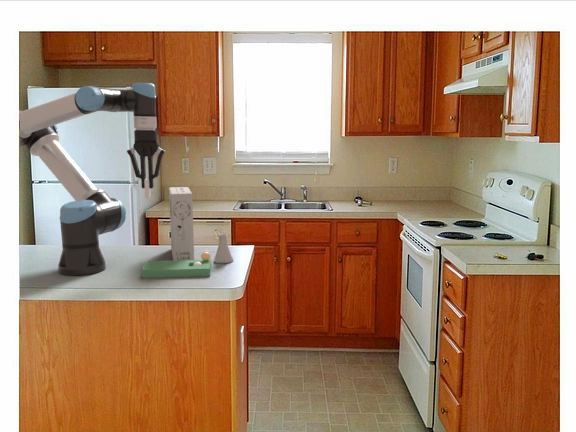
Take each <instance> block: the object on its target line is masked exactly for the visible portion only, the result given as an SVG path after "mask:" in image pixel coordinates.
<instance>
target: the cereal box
mask: <svg viewBox="0 0 576 432" xmlns="http://www.w3.org/2000/svg"><path fill="white" fill-rule="evenodd" d="M168 193H169V195H168V197H169V219H170V220H169V221H170V223H169V224H170V240H171V241H170V243H171V244H170V245H171V246H170V247H171V249H170V250H171V254H172V261H176V260H195V244H194V242H195V240H194V239H195V238H194V212H193V211H194V209H193V207H194V206H193V192H192V191H191V190H190V187H188V186H180V187H179V186H175V187H173V186H171V187H169V188H168Z"/></svg>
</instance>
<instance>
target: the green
mask: <svg viewBox="0 0 576 432" xmlns="http://www.w3.org/2000/svg"><path fill="white" fill-rule="evenodd" d="M195 262H200V263H202V266H193V264H194V263H195ZM212 264H213V263H212V259H209V260H208V261H204V260H202V259H194V260H176V261H173V260H147V261H146V263H145V264H144V265H143V268H142V269H141V278H142V279H147V278H149V279H150V278H151V279H152V278H153V279H155V278H183V277H184V278H185V277H186V278H187V277H189V278H191V277H211V272H212Z"/></svg>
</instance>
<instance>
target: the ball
mask: <svg viewBox="0 0 576 432" xmlns="http://www.w3.org/2000/svg"><path fill="white" fill-rule="evenodd" d="M193 266H202V263H200V262H195V263H194V264H193Z"/></svg>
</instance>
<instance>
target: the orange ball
mask: <svg viewBox="0 0 576 432" xmlns="http://www.w3.org/2000/svg"><path fill="white" fill-rule="evenodd" d="M211 256H212V255H211V254H210V252H208V251H204V252H202V253H201V255H200V259H201V260H204V261H208V260H211Z"/></svg>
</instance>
